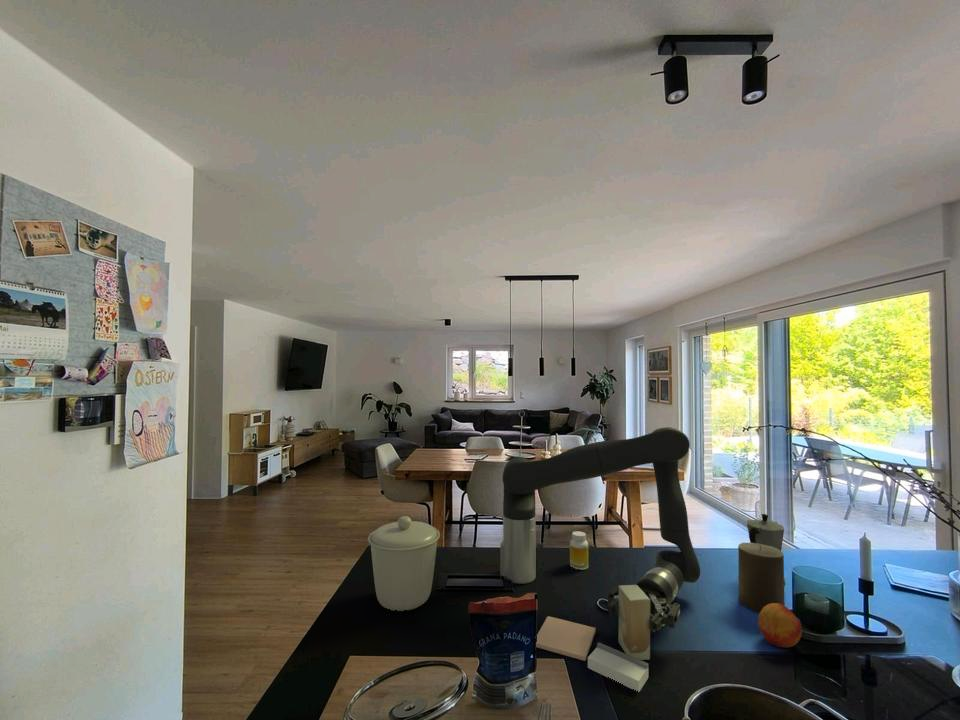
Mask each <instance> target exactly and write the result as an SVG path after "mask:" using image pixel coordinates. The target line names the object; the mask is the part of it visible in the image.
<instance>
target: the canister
mask: <svg viewBox="0 0 960 720" xmlns="http://www.w3.org/2000/svg"><path fill="white" fill-rule="evenodd" d="M440 536H441V533H440V531H439V529H437V528H436V527H434V526H432V524H431V525H430V524H429V523H426V522H423V521H415V520H412V519H411V517H409V516H408V515H403V516H400V517H398V519H397V521H395V522H389V523H387V524H384V525H381V526H379V527H378V528H376V529H375V530H373V531H372V532H371V533H370V534H369V535H368V537H367V542H368V544H369V545H370V550H371V561H372V571H373V581H374V587H375V588H374V589H375V593H376V598H377V601H378V602H379V604H380V605H381V607H383V608H385V609H386V608H387V610H388V609H390V610H389V611H395V610H397V611H395V612H405V611H404V610H407V611H411V610H414V609H417V608H418V607H419V606H420V607H421V606H423V605H424V604H425V603H426V602H427V600H428V599H429V597H430V595H431V592H432V587H433V580H434V573H435V564H436V556H437V545H438V540H439V539H440ZM422 604H423V605H422Z"/></svg>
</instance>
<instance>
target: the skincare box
mask: <svg viewBox="0 0 960 720" xmlns="http://www.w3.org/2000/svg"><path fill="white" fill-rule="evenodd" d="M620 585H621V586H619V611H618V638H617V639H618V644H619V645H620V647H621V648H622V650H623V653H625V654H627V655H630V656H632V657H634V658H637V659H639V660H641V661H645V660H647V661H648V660H650V659H651V631H650V620H651V615H650V599H649V598H648V597H647V595H646V594H645V593H644V592H643V591H642V590H641V589H640V588H639V587H638V585H636V584H627V585H626V584H623V585H622V584H620Z"/></svg>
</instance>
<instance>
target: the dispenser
mask: <svg viewBox="0 0 960 720" xmlns="http://www.w3.org/2000/svg"><path fill="white" fill-rule="evenodd" d="M587 668H588V669H589V670H592V671H593V672H596V673H598V674H599V675H601V676H604V677H606V678H608V677H609V678H608V679H610V678H611V679H610V680H612V679H613V680H612V681H614V680H615V681H614V682H616V681H617V683H618V682H619V684H620V683H621V685H622V684H623V685H622V686H625V687H626V688H628V689H631V690H633V689H634V690H633V691H635V690H636V691H635V692H637V691H638V692H637V693H640V692H641V690H642V689H643V687H644V686H645V684H646V682H647V681H648V679H649V677H650V676H649V663H648V662H646V661H645V660H639V659H637V658H634V657H632V656H630V655H627V654H626V653H625V652H624V651H623V652H622V651H621V650H617V649H615V648H613V647H611V646H609V645H606V644H603V643H602V642H597V643H596V647H595V649H594V650H593V651H592V652H591V653H590V654H589V656H587Z"/></svg>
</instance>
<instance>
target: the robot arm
mask: <svg viewBox="0 0 960 720" xmlns="http://www.w3.org/2000/svg"><path fill="white" fill-rule="evenodd" d="M690 446H691V445H690V440H689V437H688V436H687V434H686V433H684V432H683V431H682V430H679V429H677V428H675V427H670V426H665V427H660V428H656V429H654V430H653V431H652V432H651V433H647V434H643V435H640V436H636V437H632V438H624V439H612V440H610V439H609V440H603V441H597V442H592V443H586V444H583V445H582V444H581V445H578V446H574V447H572V448H570V449H568V450H565V451H562V452H561V453H558V454H556V455H553V456H551V457H549V458H542V459H537V460H529V459H527V458H525V457H521V456H516V457H512V458H511V459H509V460H508V461H507V462H506V464H505V465H504V468H503V471H502V478H501V479H502V484H503V497H502V498H503V499H502V500H503V501H502V517H503V518H502V519H503V520H502V524H503V525H502V526H503V529H502V530H503V531H502V532H503V533H502V538H503V539H502V541H501V542H500V576H501V575H502V576H506V577H508V578H509V579H511V580H512V581H513V582H512V584H513V583H514V584H529V583H531V582H533V581H535V579H536V576H537V575H536V572H537V571H536V568H537V567H536V562H537V561H536V558H537V557H536V491H537V490H540V489H541V490H542V489H543V488H546V487H549V486H553V485H557V484H565V483H573V482H577V481H582V480H589V479H594V478H598V477H603V476H607V475H611V474H614V473H615V474H616V473H619V472H623V471H625V470H628V469H632V468H634V467H638V466H641V465H649V464H652V467H653V472H654V477H655V483H656V492H657V502H658V503H657V504H658V505H657V506H658V517H659V518H658V519H659V530H660V536H661V539H663V540H664V541H666V542H667V543H671V544H673V545H675V546H676V547H677V548H678V549H679V550H680V551H676V550H669V549H664V550H659V551H658V552H657V553H656V557H655V565H654V566H653V568H651V569H650V570H648V571H647V572H646V573H644V575H643V576H642V577H641V578H640V579H639V580H638V581H637V582H635V585H638V587H639V588H640V589H641V590H642V591H643V592H644V593H645V594H646V595H647V597H648V598H649V599H650V616H651V618H650V633H655V632H659V631H660V630H661V628H662V627H664V626H665V625H668V626H667V627H669V628H671V629H675V627H676V626H677V623H678V622H679V620H680V618H681V605H680V604H679V603H677V602H674V603H672V602H673V601H674V600H675V598H676V596H677V594H678V592H680V590H681V588H682V587H683V584H684V583H689V584H693V583H696V582H697V581H698V580H699V579H700V576H701V566H700V562H699V560H698V558H697V554H696V552H695V550H694V549H695V548H694V547H693V543H692V541H691V540H692V539H691V536H690V530H689V529H690V528H689V518H688V511H687V505H686V501H685V498H684V494H683V491H682V488H681V487H682V486H681V483H680V482H681V481H680V477H679V461H680V460H682V459H683V458H684V457H685V456H686V455H687V454H688V452H689V451H690ZM621 585H622V584H617V585H616V586H615V587H613V588H612V589H610V590H609V591H608V592H607V613H608V615H609V617H612V618H614V617H615V616H616V615H617V613H619V586H621ZM666 612H668V613H667V614H666Z"/></svg>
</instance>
